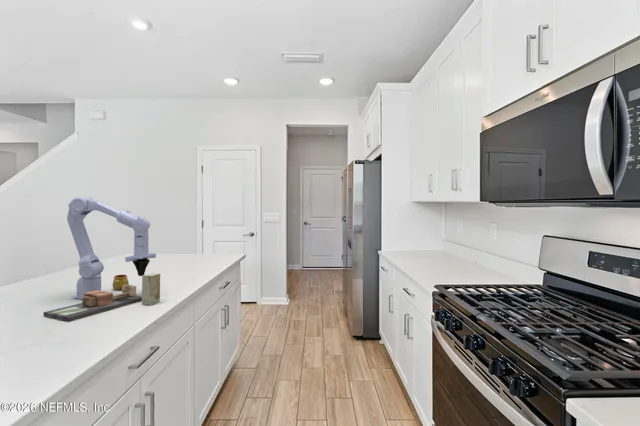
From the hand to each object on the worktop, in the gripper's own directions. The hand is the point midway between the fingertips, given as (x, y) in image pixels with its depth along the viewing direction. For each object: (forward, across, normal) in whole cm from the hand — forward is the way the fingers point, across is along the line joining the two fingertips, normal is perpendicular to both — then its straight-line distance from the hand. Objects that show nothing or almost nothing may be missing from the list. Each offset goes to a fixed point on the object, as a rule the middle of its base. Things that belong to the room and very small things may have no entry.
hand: (141, 275), depth 158 cm
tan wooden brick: (+7, -15, 0) cm, 16 cm away
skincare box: (+10, -6, -13) cm, 17 cm away
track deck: (+9, -20, 0) cm, 22 cm away
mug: (+10, +7, +22) cm, 25 cm away
